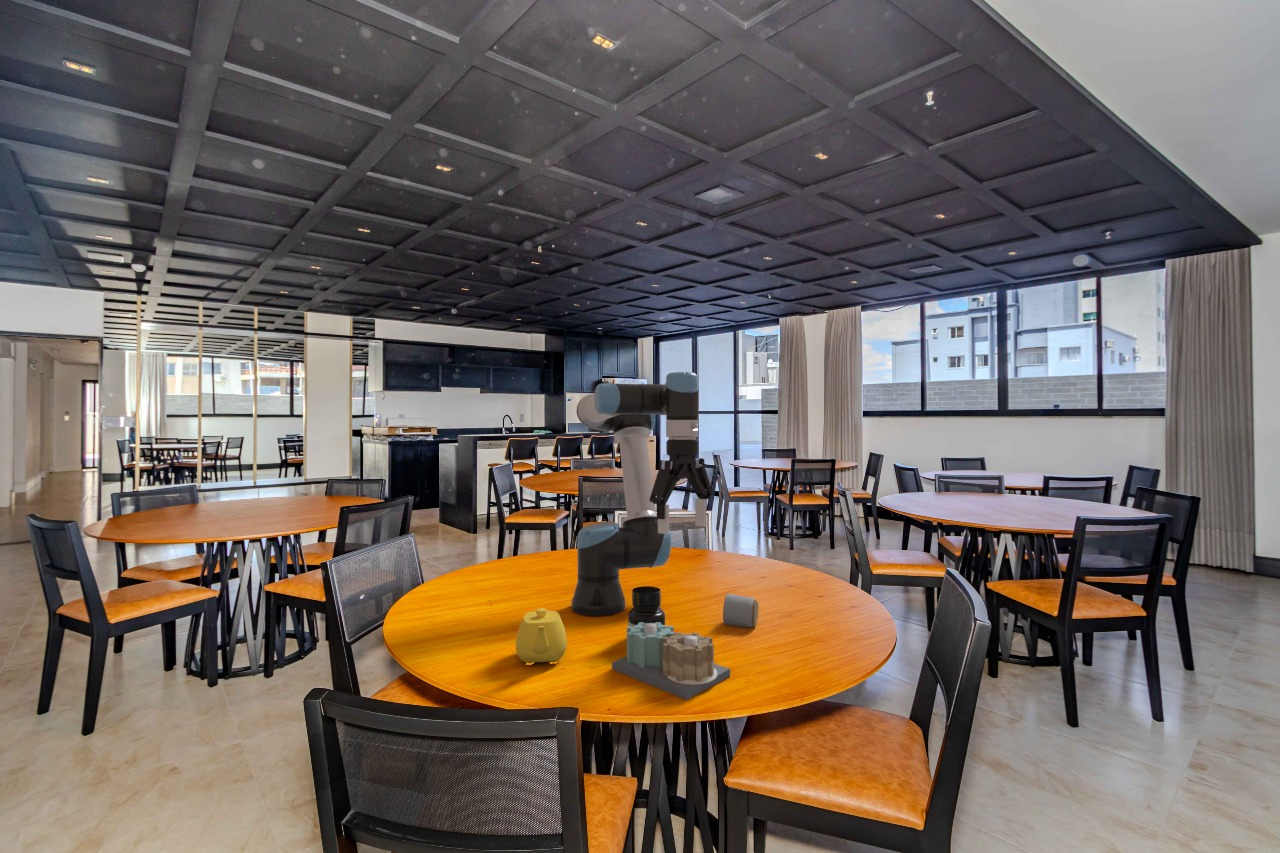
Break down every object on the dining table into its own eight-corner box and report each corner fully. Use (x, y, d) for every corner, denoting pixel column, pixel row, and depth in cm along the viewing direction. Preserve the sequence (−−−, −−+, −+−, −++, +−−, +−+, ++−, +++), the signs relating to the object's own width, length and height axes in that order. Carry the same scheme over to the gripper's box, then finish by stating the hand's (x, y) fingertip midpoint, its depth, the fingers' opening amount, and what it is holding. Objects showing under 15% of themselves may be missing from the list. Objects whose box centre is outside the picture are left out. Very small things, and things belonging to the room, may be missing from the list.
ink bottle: (629, 633, 142) (628, 584, 142) (664, 633, 141) (664, 584, 141) (627, 648, 132) (626, 595, 132) (665, 648, 132) (665, 596, 132)
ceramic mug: (755, 632, 142) (755, 600, 142) (722, 628, 145) (722, 597, 145) (760, 619, 152) (760, 590, 152) (729, 616, 155) (729, 587, 155)
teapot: (568, 675, 118) (567, 622, 118) (513, 679, 116) (512, 625, 116) (565, 643, 135) (565, 597, 135) (518, 645, 134) (518, 599, 134)
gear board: (610, 668, 121) (610, 627, 121) (655, 649, 131) (655, 612, 131) (689, 701, 106) (689, 654, 106) (733, 677, 116) (732, 635, 116)
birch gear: (652, 670, 115) (652, 640, 115) (685, 657, 122) (685, 628, 122) (690, 686, 108) (690, 654, 108) (723, 671, 115) (723, 641, 115)
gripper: (658, 439, 123) (659, 539, 123) (726, 438, 141) (727, 524, 141) (633, 439, 128) (634, 534, 128) (702, 437, 146) (702, 521, 146)
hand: (682, 529), depth 134 cm, fingers open, 13 cm apart
